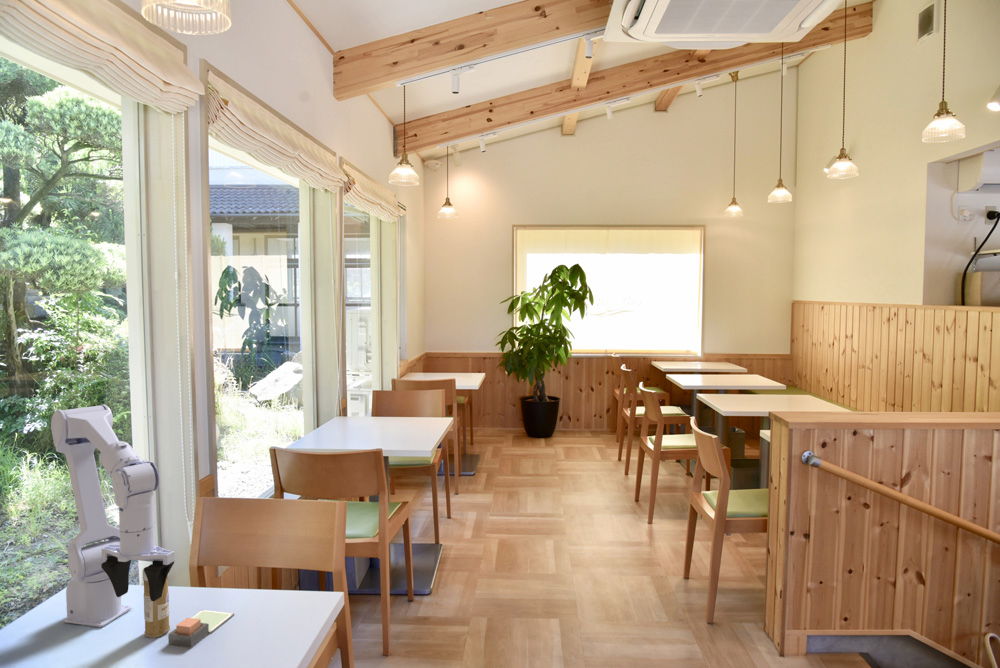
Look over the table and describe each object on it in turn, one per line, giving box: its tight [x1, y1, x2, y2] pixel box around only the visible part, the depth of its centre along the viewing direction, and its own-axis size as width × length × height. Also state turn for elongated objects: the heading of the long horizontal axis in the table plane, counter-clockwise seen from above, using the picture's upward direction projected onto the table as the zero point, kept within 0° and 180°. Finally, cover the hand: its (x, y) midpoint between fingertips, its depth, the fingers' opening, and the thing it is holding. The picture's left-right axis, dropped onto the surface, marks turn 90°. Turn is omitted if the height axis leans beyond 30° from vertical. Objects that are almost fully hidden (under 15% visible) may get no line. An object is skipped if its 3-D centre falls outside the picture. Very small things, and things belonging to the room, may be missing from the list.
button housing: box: [167, 623, 210, 649], centre depth 123 cm, size 5×5×2 cm
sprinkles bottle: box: [142, 564, 171, 638], centre depth 125 cm, size 5×5×14 cm
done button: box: [175, 617, 201, 635], centre depth 122 cm, size 3×3×2 cm
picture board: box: [191, 609, 235, 635], centre depth 129 cm, size 8×8×1 cm
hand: (139, 596), depth 120 cm, fingers open, 7 cm apart
